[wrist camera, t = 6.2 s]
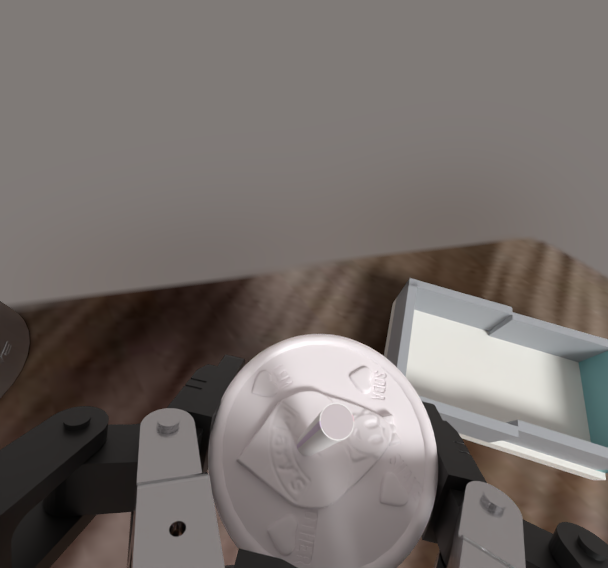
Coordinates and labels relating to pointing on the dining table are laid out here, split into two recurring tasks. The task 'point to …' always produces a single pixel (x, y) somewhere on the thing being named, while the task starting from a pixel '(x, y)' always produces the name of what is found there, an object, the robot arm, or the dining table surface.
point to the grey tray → (505, 376)
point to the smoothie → (323, 456)
